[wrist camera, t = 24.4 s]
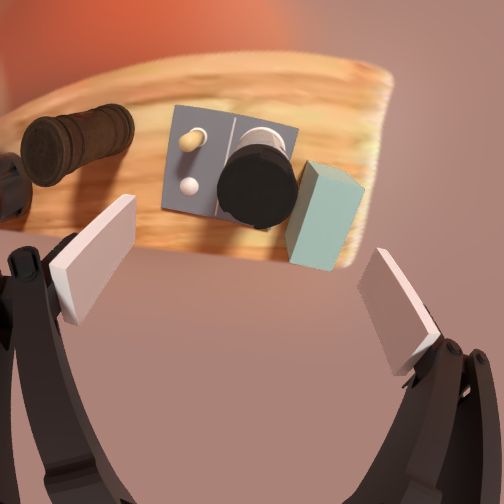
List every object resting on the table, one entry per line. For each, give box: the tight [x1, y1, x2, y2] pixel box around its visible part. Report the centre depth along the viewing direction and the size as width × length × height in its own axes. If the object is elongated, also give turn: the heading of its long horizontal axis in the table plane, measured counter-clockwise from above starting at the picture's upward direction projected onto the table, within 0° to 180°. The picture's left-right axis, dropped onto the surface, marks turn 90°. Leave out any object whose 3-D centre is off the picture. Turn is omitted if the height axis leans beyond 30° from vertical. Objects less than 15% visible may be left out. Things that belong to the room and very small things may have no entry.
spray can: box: [217, 129, 298, 229], centre depth 30 cm, size 7×7×20 cm
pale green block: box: [285, 160, 365, 271], centre depth 40 cm, size 7×13×9 cm, turn 167°
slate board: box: [161, 105, 299, 230], centre depth 38 cm, size 18×17×7 cm
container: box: [20, 104, 135, 187], centre depth 30 cm, size 9×9×18 cm
